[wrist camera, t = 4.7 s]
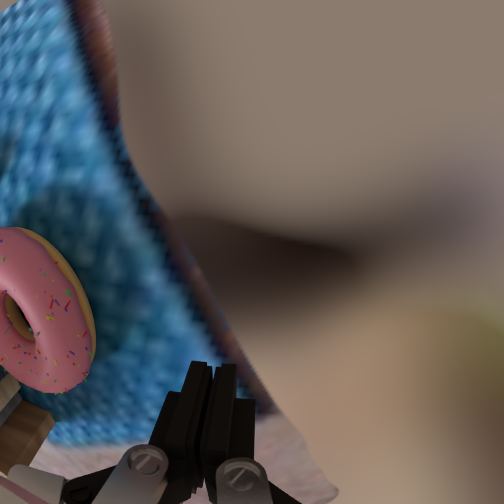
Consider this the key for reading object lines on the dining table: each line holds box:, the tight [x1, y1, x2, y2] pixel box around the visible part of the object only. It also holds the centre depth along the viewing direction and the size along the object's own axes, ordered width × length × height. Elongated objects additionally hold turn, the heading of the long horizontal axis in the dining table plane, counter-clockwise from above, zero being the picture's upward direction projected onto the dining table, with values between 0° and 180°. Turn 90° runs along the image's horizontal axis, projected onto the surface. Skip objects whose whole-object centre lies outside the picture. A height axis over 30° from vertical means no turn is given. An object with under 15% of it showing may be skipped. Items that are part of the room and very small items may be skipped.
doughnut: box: [0, 227, 96, 395], centre depth 12 cm, size 11×11×4 cm
